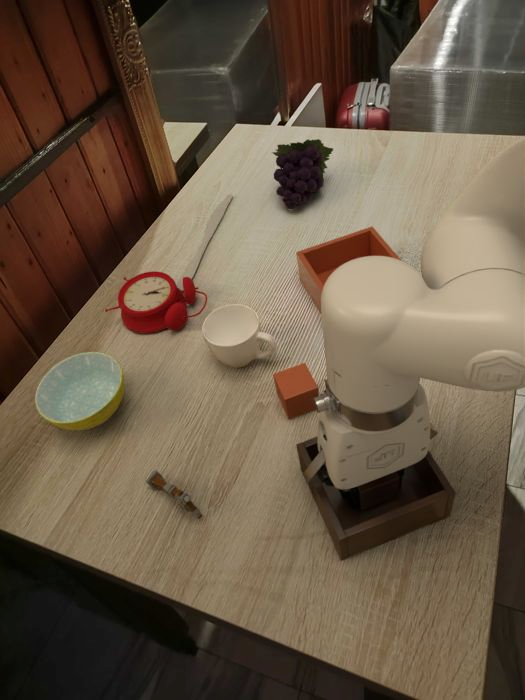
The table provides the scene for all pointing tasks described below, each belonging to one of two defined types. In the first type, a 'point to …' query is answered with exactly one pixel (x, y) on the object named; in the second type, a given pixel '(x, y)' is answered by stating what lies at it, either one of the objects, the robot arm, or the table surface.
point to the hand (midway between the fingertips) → (370, 485)
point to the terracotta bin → (337, 258)
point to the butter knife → (205, 239)
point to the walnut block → (378, 491)
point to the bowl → (81, 391)
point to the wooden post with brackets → (173, 492)
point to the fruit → (300, 170)
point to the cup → (236, 335)
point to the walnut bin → (381, 506)
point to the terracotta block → (296, 390)
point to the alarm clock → (155, 302)
